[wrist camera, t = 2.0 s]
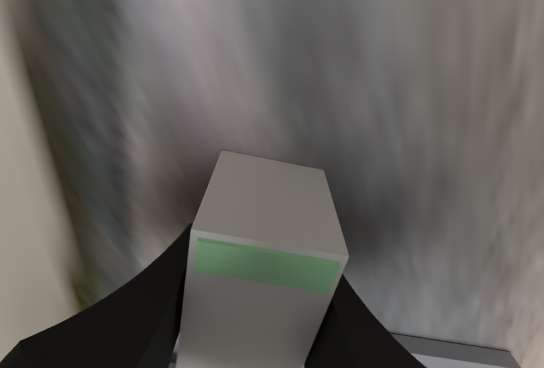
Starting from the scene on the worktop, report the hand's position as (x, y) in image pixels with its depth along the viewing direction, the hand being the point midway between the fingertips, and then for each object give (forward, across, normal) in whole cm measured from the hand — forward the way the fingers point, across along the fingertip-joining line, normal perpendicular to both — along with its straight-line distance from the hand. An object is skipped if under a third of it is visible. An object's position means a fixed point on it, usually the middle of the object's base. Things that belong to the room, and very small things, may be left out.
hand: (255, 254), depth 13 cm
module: (+1, 0, 0) cm, 1 cm away
